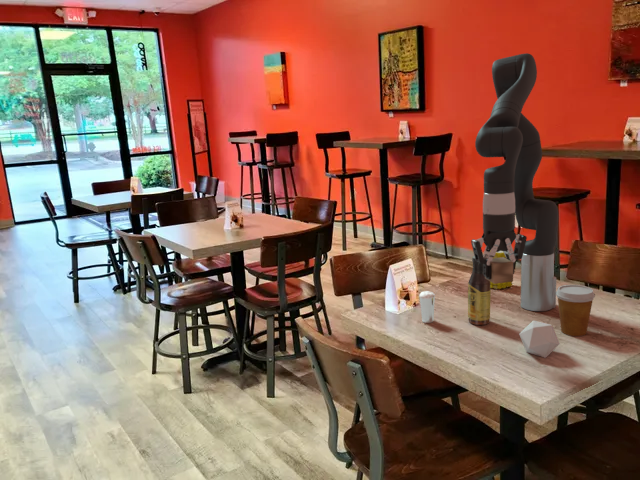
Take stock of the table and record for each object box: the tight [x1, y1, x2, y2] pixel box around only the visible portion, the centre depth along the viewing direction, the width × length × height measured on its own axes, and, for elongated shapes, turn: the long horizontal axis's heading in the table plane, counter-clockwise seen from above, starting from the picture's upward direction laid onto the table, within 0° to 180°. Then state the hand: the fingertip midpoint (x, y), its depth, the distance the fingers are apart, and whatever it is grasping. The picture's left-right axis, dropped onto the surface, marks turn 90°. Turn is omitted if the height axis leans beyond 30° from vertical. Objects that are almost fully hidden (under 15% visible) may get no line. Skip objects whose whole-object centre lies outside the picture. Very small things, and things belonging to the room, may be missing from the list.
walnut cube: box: [485, 257, 514, 284], centre depth 138 cm, size 5×5×5 cm
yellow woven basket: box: [490, 250, 513, 290], centre depth 192 cm, size 14×11×9 cm
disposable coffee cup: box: [556, 284, 596, 337], centre depth 149 cm, size 10×10×12 cm
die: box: [518, 320, 561, 359], centre depth 138 cm, size 8×9×10 cm
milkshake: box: [418, 289, 439, 324], centre depth 164 cm, size 4×5×10 cm
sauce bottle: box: [467, 254, 492, 326], centre depth 159 cm, size 7×6×20 cm
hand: (498, 277), depth 139 cm, fingers closed on walnut cube, 5 cm apart
